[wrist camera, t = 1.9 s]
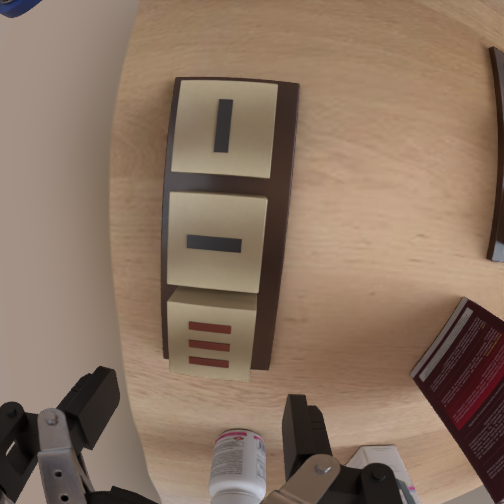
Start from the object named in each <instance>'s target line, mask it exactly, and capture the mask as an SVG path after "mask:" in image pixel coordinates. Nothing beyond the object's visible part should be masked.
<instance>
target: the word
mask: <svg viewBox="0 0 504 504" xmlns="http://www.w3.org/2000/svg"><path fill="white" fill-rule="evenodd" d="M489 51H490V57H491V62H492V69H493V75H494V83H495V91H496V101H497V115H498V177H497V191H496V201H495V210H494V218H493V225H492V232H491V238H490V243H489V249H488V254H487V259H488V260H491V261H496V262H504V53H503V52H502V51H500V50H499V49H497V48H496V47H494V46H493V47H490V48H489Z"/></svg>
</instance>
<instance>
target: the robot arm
mask: <svg viewBox="0 0 504 504" xmlns="http://www.w3.org/2000/svg"><path fill="white" fill-rule="evenodd" d="M14 1H16V0H0V2H1V3H3V4H10V3H12V2H14ZM119 400H120V392H119V387H118V382H117V377H116V372H115V370H114V369H110V368H106V367H102V366H99V367H98V368H97V369H96V370H95V371H94V373H93V374H90V373H88V374H87V375H85V376H83V377H81V378H80V379H79V381H78V382H77V383H76V384H75V386H74V387H73V388H72V389H71V391H70V392H69V393H68V394H67V396H65V398H64V399H63V400H62V401H61V403H60V404H59V405H58V406H57V408H48V409H45V410H43V411H41V412H40V414H33V413H26V412H25V411H24V410H23V407H22V406H21V405H20V404H19V403H17V402H7V403H4V404H3V405H2V406H1V407H0V504H15V503H16V501H17V499H18V497H19V495H20V493H21V492H22V490H23V488H24V486H25V484H26V482H27V480H28V479H29V477H30V475H31V473H32V471H33V470H34V468H35V466H36V465H37V463H39V469H40V474H41V479H42V485H43V489H44V493H45V498H46V502H47V504H158V503H156V502H154V501H152V500H149V499H147V498H145V497H143V496H141V495H139V494H137V493H134V492H131V491H128V490H125V489H121V488H118V487H115V486H112V488H111V491H96V492H95V490H94V488H93V486H92V484H91V481H90V478H89V475H88V472H87V469H86V466H85V462H84V459H83V456H82V453H81V451H82V449H83V447H84V448H87V449H89V450H93V448H94V446H95V444H96V442H97V440H98V439H99V437H100V435H101V434H102V432H103V430H104V428H105V427H106V425H107V423H108V421H109V420H110V418H111V416H112V415H113V413H114V411H115V409H116V408H117V406H118V404H119ZM282 436H283V450H284V463H285V478H286V483H285V484H284V485H283V486H282V487H281V488H280V489H279V490H274V491H272V492H271V493H270V494H269V495H268V496H267V497H266V498H265V499H264V500H263V501H261V502H260V503H259V504H403V501H402V498H401V495H400V491H399V488H398V485H397V481H396V478H395V475H394V472H393V470H392V469H391V468H390V467H389V466H387V465H386V464H383V463H371V464H368V465H366V466H365V467H364V468H363V469H358V468H351V467H346V466H343V465H341V464H340V463H339V461H338V460H337V459H336V458H334V457H333V455H332V452H331V448H330V444H329V439H328V435H327V431H326V427H325V423H324V419H323V414H322V412H321V411H320V410H319V409H318V408H317V406H311V405H307V401H306V396H305V395H302V394H288V396H287V401H286V406H285V410H284V415H283V420H282ZM13 441H14V442H15V444H14V445H13V447H12V448H11V450H10V451H9V453H8V454H7V456H6V452H7V450H8V449H9V447H10V446H11V444H12V443H13Z"/></svg>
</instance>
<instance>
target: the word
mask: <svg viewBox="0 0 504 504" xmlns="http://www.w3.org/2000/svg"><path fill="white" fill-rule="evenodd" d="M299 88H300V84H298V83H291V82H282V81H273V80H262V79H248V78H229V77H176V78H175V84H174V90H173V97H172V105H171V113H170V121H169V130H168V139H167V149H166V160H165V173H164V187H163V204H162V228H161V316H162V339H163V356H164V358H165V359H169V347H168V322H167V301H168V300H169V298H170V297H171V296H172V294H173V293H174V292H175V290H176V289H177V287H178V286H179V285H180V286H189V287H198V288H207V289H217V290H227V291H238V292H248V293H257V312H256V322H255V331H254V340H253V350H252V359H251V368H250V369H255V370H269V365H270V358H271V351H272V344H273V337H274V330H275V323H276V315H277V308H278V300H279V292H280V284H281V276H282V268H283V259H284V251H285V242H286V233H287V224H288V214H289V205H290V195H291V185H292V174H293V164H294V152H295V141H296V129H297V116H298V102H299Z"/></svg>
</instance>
